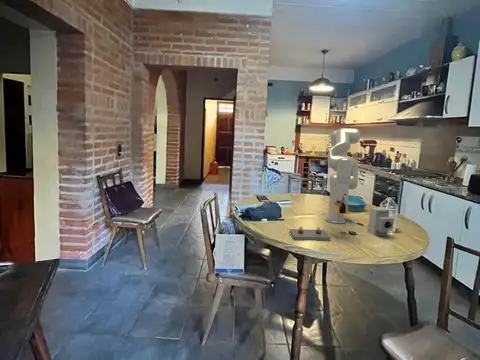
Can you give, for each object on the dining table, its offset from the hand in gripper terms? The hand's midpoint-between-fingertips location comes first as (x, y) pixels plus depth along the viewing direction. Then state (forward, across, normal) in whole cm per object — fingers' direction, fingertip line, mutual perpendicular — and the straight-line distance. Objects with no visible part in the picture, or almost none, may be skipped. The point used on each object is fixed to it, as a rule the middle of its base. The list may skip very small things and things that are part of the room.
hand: (340, 211), depth 195 cm
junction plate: (+15, +2, -17) cm, 23 cm away
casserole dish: (+16, -74, +30) cm, 81 cm away
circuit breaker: (+15, -4, +26) cm, 30 cm away
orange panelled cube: (+1, 0, 0) cm, 1 cm away
